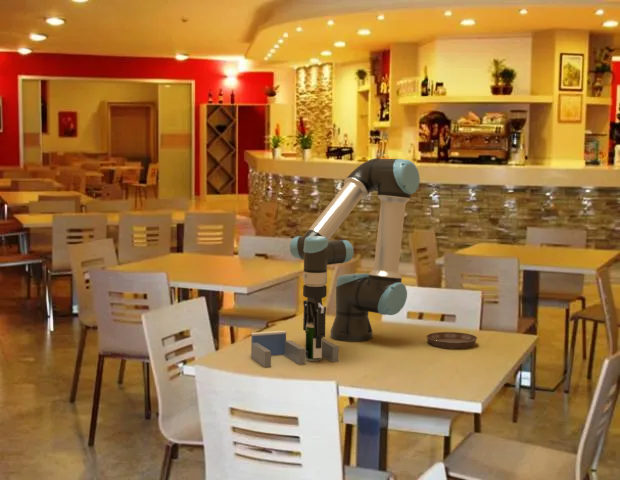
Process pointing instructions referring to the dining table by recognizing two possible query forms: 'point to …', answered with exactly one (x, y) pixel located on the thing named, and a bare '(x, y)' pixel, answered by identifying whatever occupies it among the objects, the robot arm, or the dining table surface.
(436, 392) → the dining table surface
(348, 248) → the robot arm
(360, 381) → the dining table surface
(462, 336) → the plant saucer
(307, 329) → the beer can
